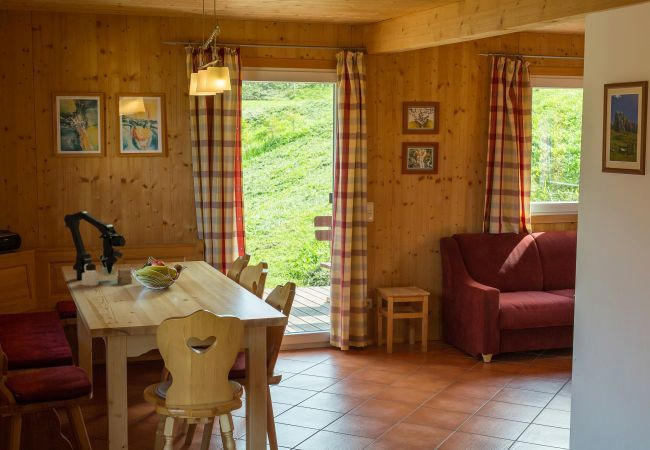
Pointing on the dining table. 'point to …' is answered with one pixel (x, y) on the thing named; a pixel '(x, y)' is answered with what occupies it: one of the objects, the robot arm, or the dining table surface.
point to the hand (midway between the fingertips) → (108, 272)
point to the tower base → (124, 280)
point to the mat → (111, 282)
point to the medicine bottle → (90, 275)
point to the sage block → (105, 272)
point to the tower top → (124, 272)
